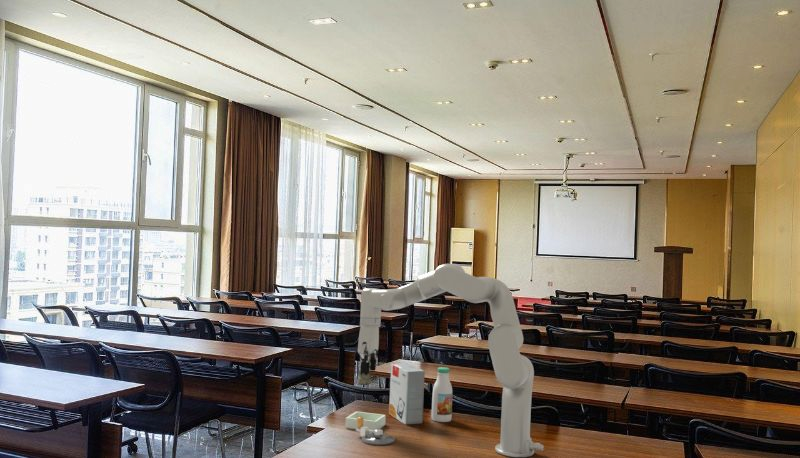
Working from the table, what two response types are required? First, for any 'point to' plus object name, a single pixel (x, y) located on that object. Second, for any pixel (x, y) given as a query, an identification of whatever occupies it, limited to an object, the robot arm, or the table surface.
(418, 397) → the hard drive box
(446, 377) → the milk bottle
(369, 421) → the tray
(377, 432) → the crank lever
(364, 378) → the grenade model
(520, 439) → the robot arm
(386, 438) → the crank base
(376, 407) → the table surface
